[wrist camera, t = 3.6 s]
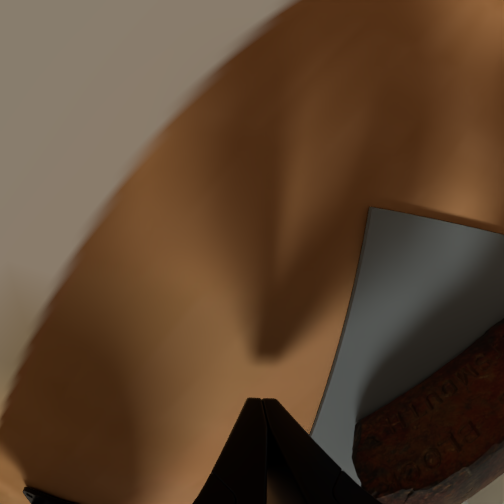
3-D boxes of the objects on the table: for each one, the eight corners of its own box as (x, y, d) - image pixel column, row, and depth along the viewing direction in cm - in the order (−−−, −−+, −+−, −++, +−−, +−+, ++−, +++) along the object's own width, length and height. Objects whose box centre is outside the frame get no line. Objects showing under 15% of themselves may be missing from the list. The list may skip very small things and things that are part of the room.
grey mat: (264, 541, 14) (264, 543, 13) (369, 206, 8) (372, 208, 8) (500, 479, 16) (501, 480, 15) (609, 266, 11) (611, 267, 10)
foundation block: (417, 514, 14) (435, 552, 10) (451, 475, 13) (477, 518, 9) (501, 478, 15) (520, 506, 11) (532, 439, 14) (555, 467, 10)
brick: (537, 273, 9) (613, 314, 5) (538, 336, 10) (596, 380, 6) (336, 424, 10) (373, 524, 6) (366, 465, 11) (398, 543, 7)
